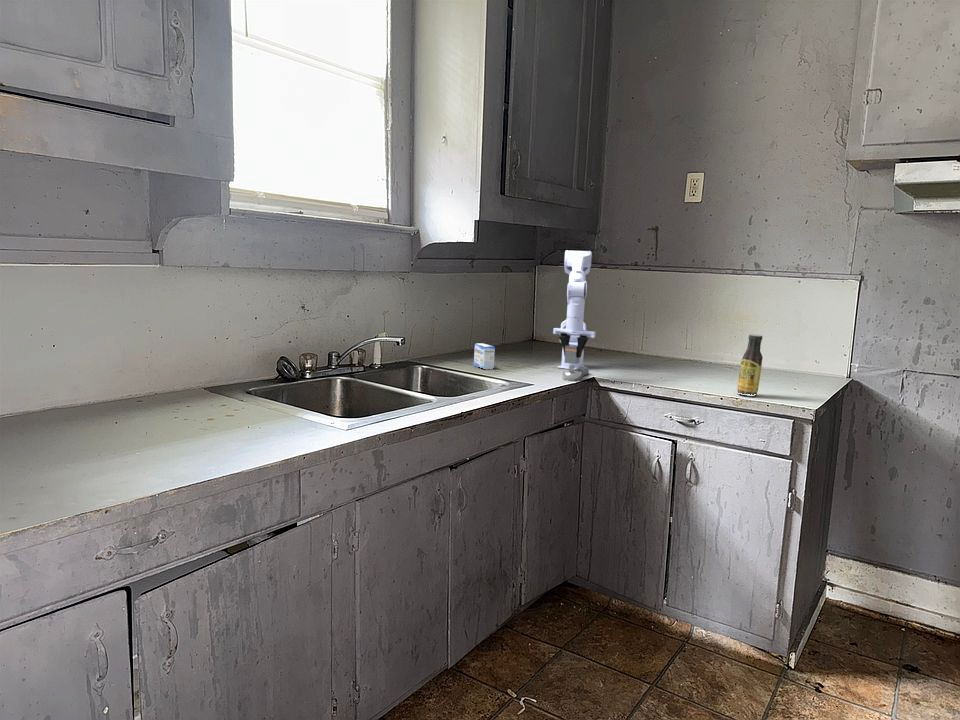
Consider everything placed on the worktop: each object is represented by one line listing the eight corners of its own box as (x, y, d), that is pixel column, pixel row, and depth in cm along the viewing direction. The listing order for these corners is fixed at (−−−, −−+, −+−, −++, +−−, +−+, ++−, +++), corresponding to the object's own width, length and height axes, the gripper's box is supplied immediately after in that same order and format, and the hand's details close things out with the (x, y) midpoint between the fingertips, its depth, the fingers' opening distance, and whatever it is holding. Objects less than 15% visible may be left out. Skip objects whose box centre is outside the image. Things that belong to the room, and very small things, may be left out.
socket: (568, 360, 231) (569, 343, 230) (579, 362, 229) (580, 345, 228) (564, 362, 228) (565, 345, 226) (575, 364, 226) (576, 346, 225)
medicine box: (473, 366, 247) (474, 343, 246) (483, 365, 249) (484, 343, 248) (483, 370, 240) (484, 346, 239) (494, 369, 242) (495, 346, 241)
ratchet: (576, 372, 244) (577, 358, 243) (592, 374, 241) (593, 360, 240) (559, 379, 228) (560, 365, 228) (576, 381, 226) (577, 367, 225)
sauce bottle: (732, 394, 216) (739, 333, 212) (743, 392, 220) (750, 333, 216) (751, 398, 211) (758, 336, 207) (762, 396, 214) (769, 335, 211)
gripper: (550, 316, 226) (548, 355, 228) (592, 319, 219) (589, 360, 222) (558, 314, 232) (555, 353, 234) (598, 318, 225) (595, 357, 228)
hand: (572, 356), depth 228 cm, fingers closed on socket, 4 cm apart
